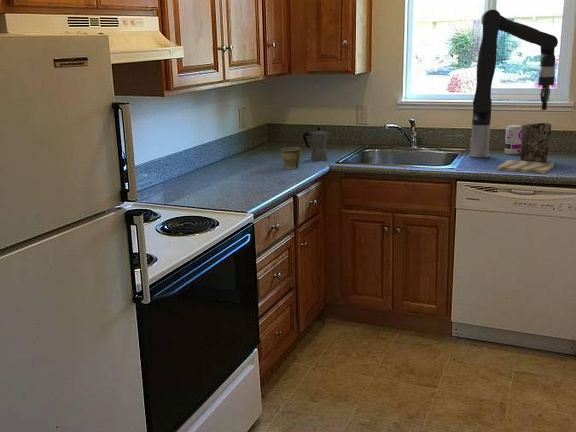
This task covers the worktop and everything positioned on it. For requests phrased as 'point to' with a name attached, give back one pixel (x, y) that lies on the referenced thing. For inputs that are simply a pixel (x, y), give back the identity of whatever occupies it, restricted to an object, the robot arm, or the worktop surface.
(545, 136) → the stone block
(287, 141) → the worktop surface
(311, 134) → the coffeepot
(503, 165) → the cutting board
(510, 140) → the supplement can
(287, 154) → the ceramic cup
